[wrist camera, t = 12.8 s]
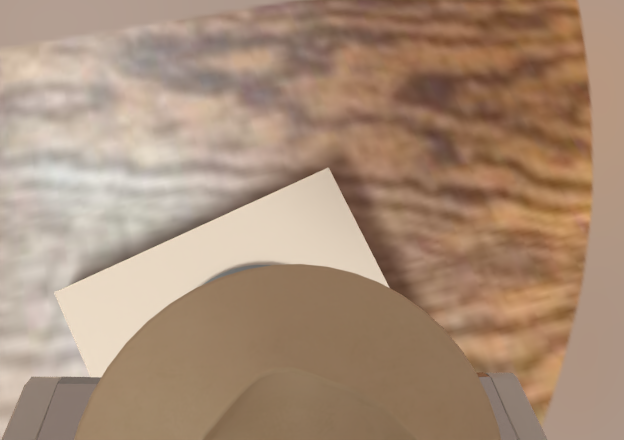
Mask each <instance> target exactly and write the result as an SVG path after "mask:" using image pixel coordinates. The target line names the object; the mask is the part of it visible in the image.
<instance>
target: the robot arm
mask: <svg viewBox="0 0 624 440" xmlns="http://www.w3.org/2000/svg"><path fill="white" fill-rule="evenodd" d="M477 375H478V377H479V379H480V381H481V383H482V386H483V388H484V390H485V392H486V394H487V396H488V398H489V400H490V403H491V406H492V409H493V412H494V415H495V418H496V421H497V424H498V427H499V431H500V436H501V440H547V438H546V436H545V434H544V432H543V430H542V428H541V426H540V424H539V421H538V419H537V417H536V415H535V413H534V411H533V409H532V407H531V405H530V403H529V401H528V399H527V397H526V395H525V393H524V391H523V389H522V387H521V385H520V383H519V380H518V378H517V377H516V376H515V375H514V374H513V373H483V372H479V373H477ZM100 379H101V377H31V379H30V380H29V381H28V382H27V383H26V385H25V386H24V388H23V391H22V393H21V395H20V398H19V400H18V402H17V405H16V407H15V409H14V412H13V414H12V416H11V419H10V421H9V423H8V426H7V428H6V430H5V433H4V435H3V437H2V440H74V438H75V435H76V432H77V428H78V425H79V422H80V420H81V417H82V415H83V413H84V410H85V408H86V406H87V404H88V401H89V399H90V397H91V394H92V393H93V391H94V389H95V388H96V386H97V384H98V382H99V381H100Z"/></svg>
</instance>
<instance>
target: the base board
mask: <svg viewBox="0 0 624 440" xmlns="http://www.w3.org/2000/svg"><path fill="white" fill-rule="evenodd" d="M286 264H306V265H316V266H325V267H331V268H335V269H340V270H344V271H348V272H352V273H356V274H358V275H361V276H363V277H366V278H369V279H371V280H374V281H377V282H379V283H381V284H383V285H385V286H387V287H388V288H389V286H388V284H387V282H386V280H385V278H384V276H383V274H382V272H381V270H380V268H379V266H378V264H377V262H376V260H375V258H374V256H373V254H372V252H371V250H370V248H369V246H368V244H367V242H366V240H365V238H364V236H363V234H362V232H361V230H360V229H359V227H358V225H357V223H356V221H355V219H354V217H353V215H352V213H351V211H350V209H349V207H348V205H347V203H346V201H345V199H344V197H343V195H342V193H341V191H340V189H339V187H338V185H337V183H336V181H335V179H334V177H333V175H332V173H331V171H330V169H329V167H328V168H326V169H324V170H322V171H319V172H317V173H315V174H313V175H311V176H308V177H306V178H304V179H302V180H300V181H298V182H295V183H293V184H291V185H289V186H287V187H284V188H282V189H280V190H278V191H276V192H273V193H271V194H269V195H267V196H265V197H262V198H260V199H258V200H256V201H254V202H251V203H249V204H247V205H245V206H243V207H240V208H238V209H236V210H234V211H232V212H230V213H227V214H225V215H223V216H221V217H219V218H216V219H214V220H212V221H210V222H208V223H205V224H203V225H201V226H199V227H197V228H194V229H192V230H190V231H188V232H186V233H183V234H181V235H179V236H177V237H175V238H172V239H170V240H168V241H166V242H164V243H162V244H159V245H157V246H155V247H153V248H151V249H148V250H146V251H144V252H142V253H140V254H137V255H135V256H133V257H131V258H129V259H126V260H124V261H122V262H120V263H118V264H115V265H113V266H111V267H109V268H107V269H105V270H102V271H100V272H98V273H96V274H94V275H91V276H89V277H87V278H85V279H83V280H80V281H78V282H76V283H74V284H72V285H69V286H67V287H65V288H63V289H61V290H58V291H56V292H54V294H55V296H56V298H57V301H58V303H59V305H60V308H61V310H62V312H63V314H64V317H65V319H66V321H67V324H68V326H69V328H70V331H71V333H72V335H73V338H74V340H75V342H76V344H77V347H78V349H79V351H80V354H81V356H82V358H83V361H84V363H85V365H86V368H87V370H88V372H89V374H90V377H102V376H103V374H104V372H105V371H106V369H107V367H108V366H109V365H110V363H111V362H112V361H113V359H114V358H115V357H116V356H117V354H118V353H119V352H120V350H121V349H122V348H123V346H124V345H125V344H126V343H127V342H128V341H129V340H130V339H131V338H132V337H133V336H134V335H135V334H136V332H137V331H138V330H139V329H140V328H141V327H142V326H143V325H144V324H145V323H146V322H147V321H149V320H150V319H151V318H152V317H154V316H155V315H156V314H158V313H159V312H160V311H161V310H163V309H164V308H165V307H166V306H168V305H169V304H170V303H172V302H173V301H175V300H177V299H178V298H180V297H182V296H183V295H185V294H187V293H188V292H190V291H192V290H193V289H195V288H197V287H200V286H202V285H204V284H206V283H209V282H211V281H213V280H215V279H218V278H220V277H223V276H226V275H230V274H233V273H236V272H240V271H243V270H246V269H252V268H258V267H264V266H270V265H286Z"/></svg>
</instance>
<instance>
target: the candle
mask: <svg viewBox="0 0 624 440" xmlns="http://www.w3.org/2000/svg"><path fill="white" fill-rule="evenodd" d="M74 440H501V436H500V431H499V427H498V424H497V421H496V418H495V415H494V412H493V409H492V406H491V403H490V400H489V398H488V396H487V394H486V392H485V390H484V388H483V386H482V383H481V381H480V379H479V377H478V375H477V373H476V372H475V370H474V369H473V367H472V365H471V364H470V362H469V361H468V359H467V358H466V356H465V355H464V353H463V351H462V350H461V349H460V348H459V346H458V345H457V344H456V343H455V342H454V340H453V339H452V338H451V337H450V336H449V334H448V333H447V332H446V331H445V330H444V329H443V328H442V327H441V326H440V325H439V324H438V323H437V322H436V321H435V320H434V319H433V318H432V317H431V316H429V315H428V314H427V313H426V312H425V311H424V310H423V309H421V308H420V307H418V306H417V305H416V304H414V303H413V302H411V301H410V300H409V299H407V298H406V297H405V296H403V295H401V294H400V293H398V292H396V291H394V290H392V289H390V288H388V287H387V286H385V285H383V284H381V283H379V282H377V281H374V280H371V279H369V278H366V277H363V276H361V275H358V274H356V273H352V272H348V271H344V270H340V269H335V268H331V267H325V266H316V265H306V264H286V265H270V266H264V267H258V268H252V269H246V270H243V271H240V272H236V273H233V274H230V275H226V276H223V277H220V278H218V279H215V280H213V281H211V282H209V283H206V284H204V285H202V286H200V287H197V288H195V289H193V290H192V291H190V292H188V293H187V294H185V295H183V296H182V297H180V298H178V299H177V300H175V301H173V302H172V303H170V304H169V305H168V306H166V307H165V308H164V309H163V310H161V311H160V312H159V313H158V314H156V315H155V316H154V317H152V318H151V319H150V320H149V321H147V322H146V323H145V324H144V325H143V326H142V327H141V328H140V329H139V330H138V331H137V332H136V334H135V335H134V336H133V337H132V338H131V339H130V340H129V341H128V342H127V343H126V344H125V345H124V346H123V348H122V349H121V350H120V352H119V353H118V354H117V356H116V357H115V358H114V359H113V361H112V362H111V363H110V365H109V366H108V367H107V369H106V371H105V372H104V374H103V376H102V377H101V379H100V381H99V382H98V384H97V386H96V388H95V389H94V391H93V393H92V394H91V397H90V399H89V401H88V404H87V406H86V408H85V410H84V413H83V415H82V417H81V420H80V422H79V425H78V428H77V432H76V435H75V438H74Z"/></svg>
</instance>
